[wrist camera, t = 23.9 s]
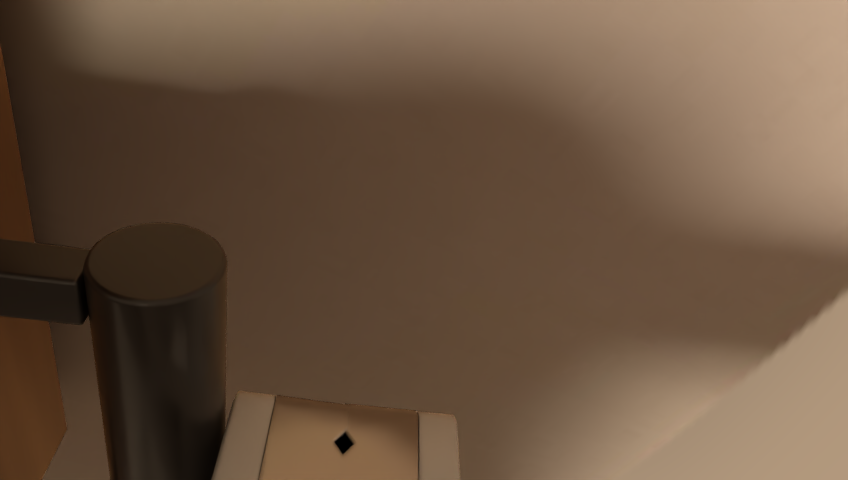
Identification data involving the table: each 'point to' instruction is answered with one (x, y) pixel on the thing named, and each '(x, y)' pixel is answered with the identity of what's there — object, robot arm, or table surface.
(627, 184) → the table surface
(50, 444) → the drawer
